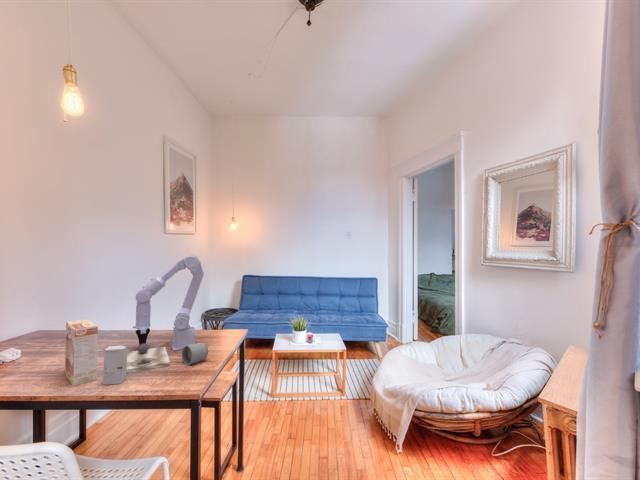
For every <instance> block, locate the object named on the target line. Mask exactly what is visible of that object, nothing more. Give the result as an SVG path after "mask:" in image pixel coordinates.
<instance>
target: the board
mask: <svg viewBox="0 0 640 480" xmlns="http://www.w3.org/2000/svg"><path fill="white" fill-rule="evenodd" d="M166 348H167V347H166V346H159V347H153V348H151V347H150V348H148V350H147V352H145V353H139V352H138V349H137V350H132V351H127V367H126V375H127V374H131V373H132V374H133V373H137V372H143V371H150V370H154V369H161V368H165V367H166V368H167V367H170V366H171V363H170V362H171V361H170V358H169V355H168V354H169V353H168V352H167V349H166Z"/></svg>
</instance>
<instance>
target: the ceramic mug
mask: <svg viewBox="0 0 640 480" xmlns="http://www.w3.org/2000/svg"><path fill="white" fill-rule="evenodd" d="M208 354H209V349H208V345H207V344H206V343H204V342H198V343H196V342H195V344H191V345H186V346H184V348H183V349H181V359H182V361H183V363H184V364H185V365H186V366H188V365H189V366H190V365H192V364H193V365H194V364H195V363H198V362H199V363H200V362H201V361H203V360H205V359H207V357H208V356H209V355H208Z"/></svg>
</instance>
